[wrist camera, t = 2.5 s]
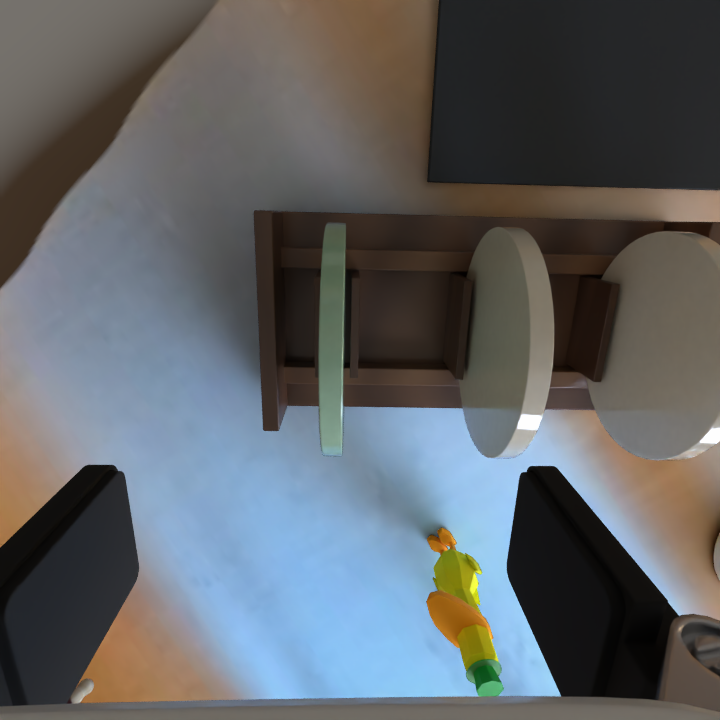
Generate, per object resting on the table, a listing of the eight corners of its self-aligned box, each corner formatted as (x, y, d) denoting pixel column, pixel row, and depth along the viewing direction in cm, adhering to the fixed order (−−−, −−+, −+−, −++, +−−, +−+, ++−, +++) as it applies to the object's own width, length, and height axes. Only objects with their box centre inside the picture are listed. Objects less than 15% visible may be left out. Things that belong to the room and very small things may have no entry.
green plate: (347, 221, 28) (345, 224, 16) (344, 401, 32) (341, 506, 20) (331, 221, 28) (317, 224, 16) (330, 401, 32) (318, 506, 20)
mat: (816, -125, 24) (827, -134, 24) (735, 190, 29) (742, 190, 29) (448, -143, 24) (450, -152, 23) (427, 182, 29) (428, 181, 28)
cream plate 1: (484, 225, 28) (575, 230, 17) (465, 403, 32) (530, 508, 20) (468, 224, 28) (548, 230, 17) (451, 403, 32) (508, 508, 20)
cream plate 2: (618, 228, 28) (799, 236, 17) (585, 405, 32) (715, 510, 21) (602, 228, 28) (773, 235, 17) (571, 405, 32) (694, 509, 21)
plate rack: (667, 221, 30) (730, 222, 25) (627, 404, 34) (675, 436, 29) (269, 211, 29) (253, 210, 24) (276, 399, 33) (263, 431, 28)
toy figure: (396, 525, 36) (418, 667, 25) (430, 499, 36) (468, 632, 24) (450, 574, 38) (493, 728, 27) (483, 549, 37) (542, 697, 26)
